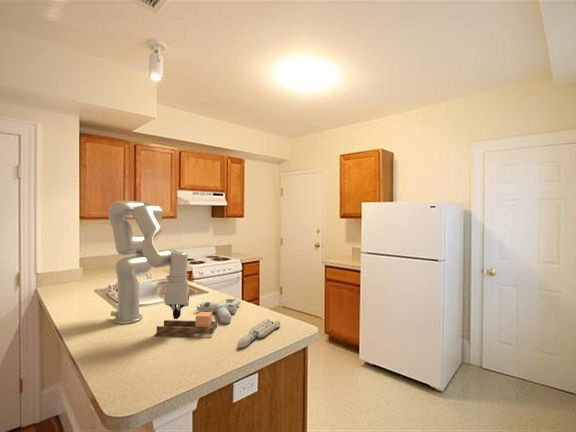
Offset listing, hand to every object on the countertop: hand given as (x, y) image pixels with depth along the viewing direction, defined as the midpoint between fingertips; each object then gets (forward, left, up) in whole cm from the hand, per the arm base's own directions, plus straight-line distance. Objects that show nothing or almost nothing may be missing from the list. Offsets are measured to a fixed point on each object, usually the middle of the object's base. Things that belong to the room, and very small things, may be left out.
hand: (176, 317), depth 142 cm
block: (+13, 0, -5) cm, 14 cm away
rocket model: (+38, -4, -7) cm, 39 cm away
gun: (+10, +25, -7) cm, 28 cm away
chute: (+5, 0, -6) cm, 8 cm away
